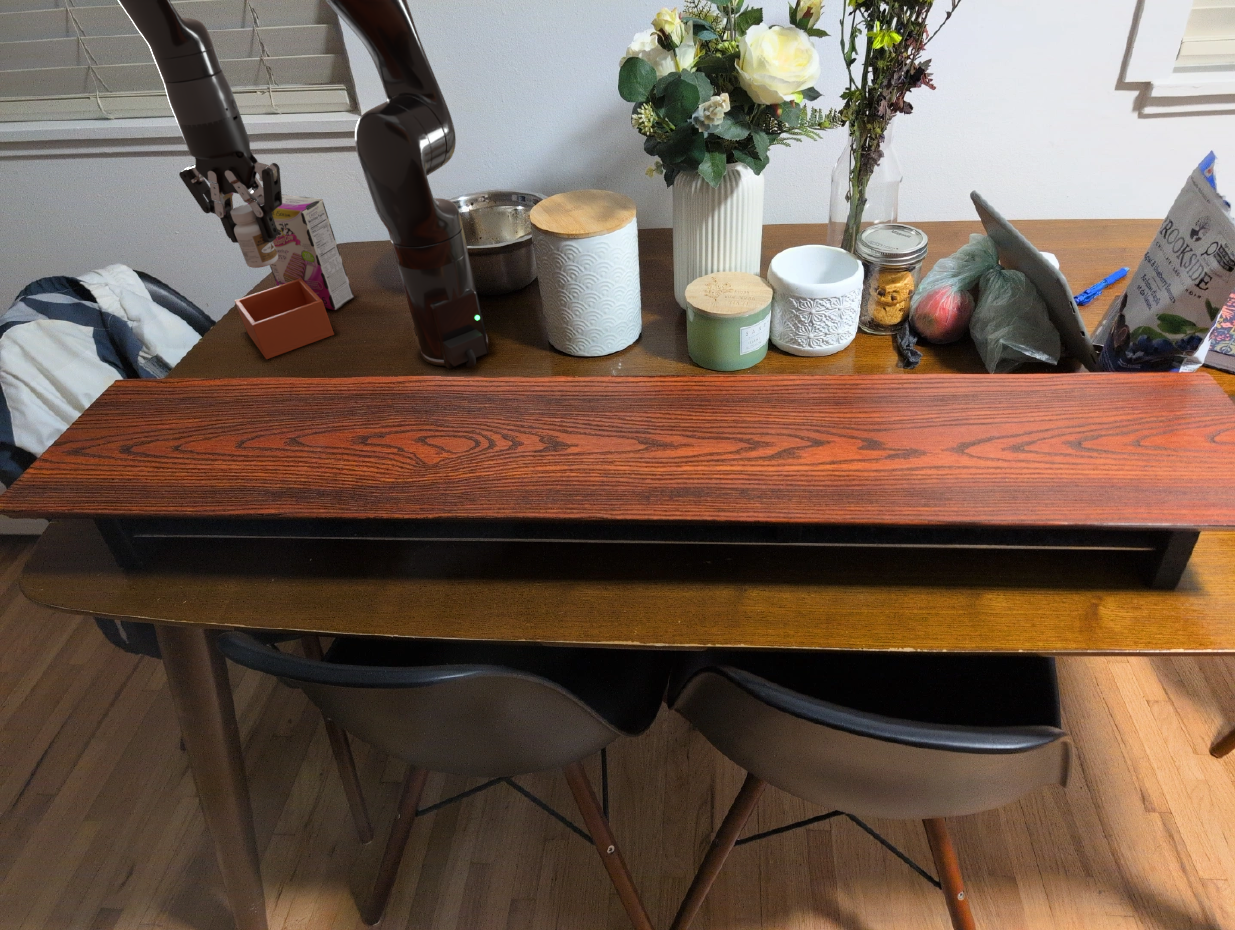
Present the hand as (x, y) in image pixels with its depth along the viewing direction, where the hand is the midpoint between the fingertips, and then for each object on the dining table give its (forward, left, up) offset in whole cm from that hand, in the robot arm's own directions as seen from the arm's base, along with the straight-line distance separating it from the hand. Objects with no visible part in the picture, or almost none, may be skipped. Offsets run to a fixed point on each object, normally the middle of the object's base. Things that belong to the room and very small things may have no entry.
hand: (255, 239), depth 118 cm
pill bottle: (0, 0, -4) cm, 4 cm away
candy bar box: (+8, -7, -15) cm, 19 cm away
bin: (0, 0, -15) cm, 15 cm away
